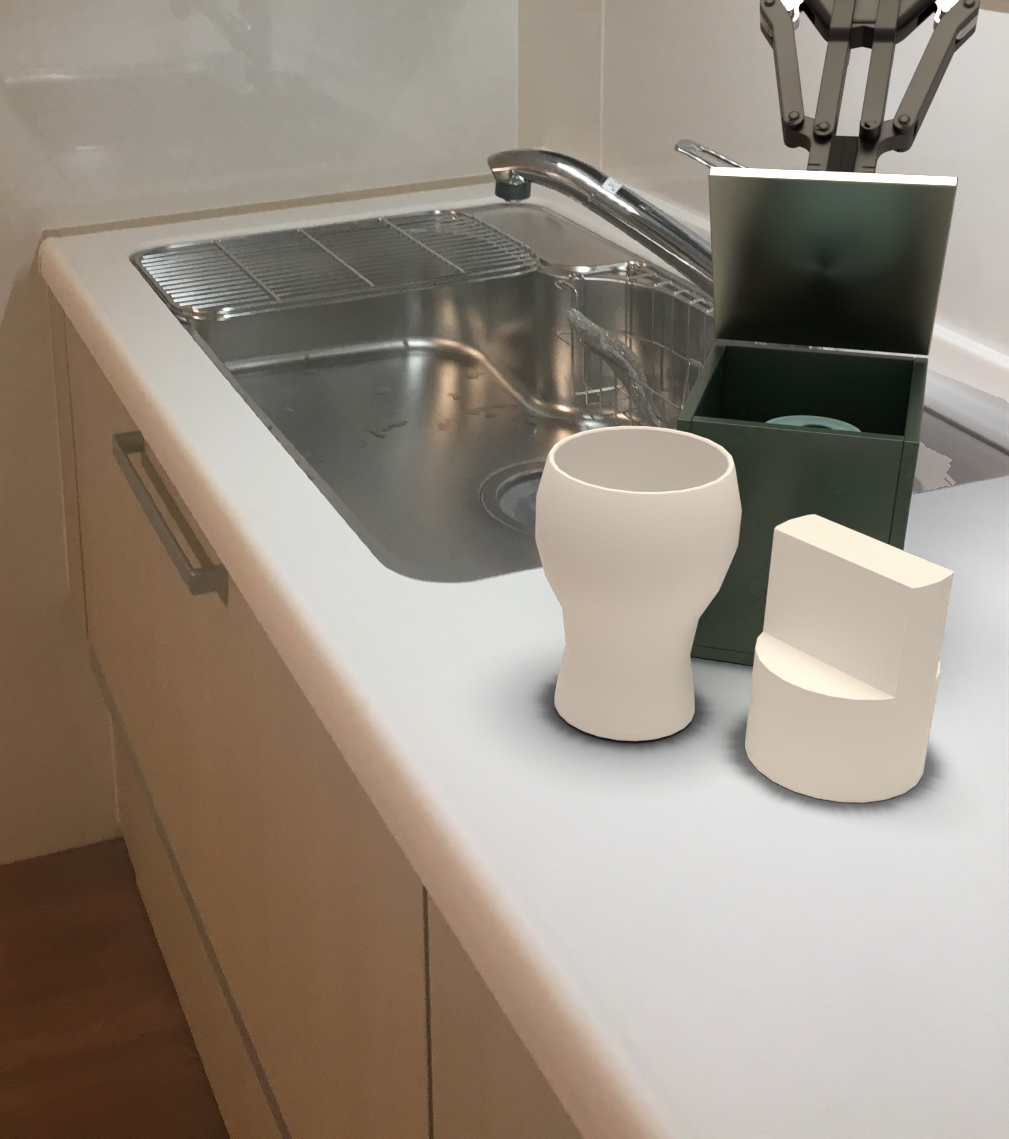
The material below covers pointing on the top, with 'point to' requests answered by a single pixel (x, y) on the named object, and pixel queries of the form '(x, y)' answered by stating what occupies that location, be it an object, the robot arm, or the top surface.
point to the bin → (802, 460)
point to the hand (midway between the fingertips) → (829, 244)
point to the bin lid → (828, 257)
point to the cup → (634, 570)
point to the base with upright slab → (845, 663)
